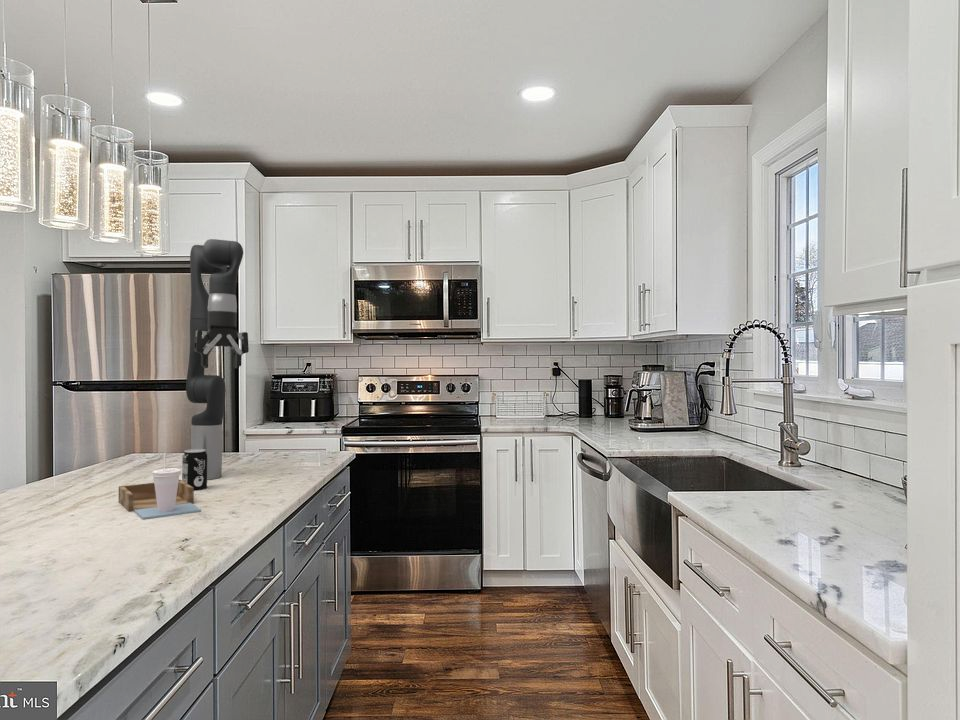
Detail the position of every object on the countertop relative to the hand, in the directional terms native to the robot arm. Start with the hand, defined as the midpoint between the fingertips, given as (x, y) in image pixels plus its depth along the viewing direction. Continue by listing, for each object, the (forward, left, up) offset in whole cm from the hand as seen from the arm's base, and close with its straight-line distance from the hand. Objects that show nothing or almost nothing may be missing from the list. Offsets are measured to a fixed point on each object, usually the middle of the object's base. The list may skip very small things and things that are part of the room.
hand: (221, 368), depth 176 cm
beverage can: (-10, -4, -36) cm, 38 cm away
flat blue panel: (+10, -17, -35) cm, 40 cm away
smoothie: (+15, -17, -35) cm, 42 cm away
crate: (+3, -17, -36) cm, 40 cm away
